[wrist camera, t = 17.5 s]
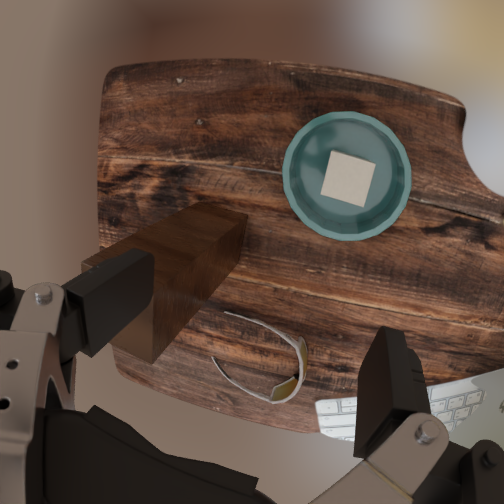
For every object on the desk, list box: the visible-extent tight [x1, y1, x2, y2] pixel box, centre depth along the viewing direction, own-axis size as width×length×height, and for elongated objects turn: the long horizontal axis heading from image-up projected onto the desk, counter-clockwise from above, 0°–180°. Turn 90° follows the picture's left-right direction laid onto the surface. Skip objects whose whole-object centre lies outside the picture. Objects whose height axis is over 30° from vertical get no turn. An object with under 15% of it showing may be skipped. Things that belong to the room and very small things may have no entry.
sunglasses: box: [212, 311, 307, 404], centre depth 46 cm, size 14×15×5 cm
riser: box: [81, 202, 248, 364], centre depth 32 cm, size 7×7×22 cm
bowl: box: [282, 111, 412, 241], centre depth 33 cm, size 14×14×5 cm
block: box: [321, 149, 376, 207], centre depth 32 cm, size 4×4×6 cm
